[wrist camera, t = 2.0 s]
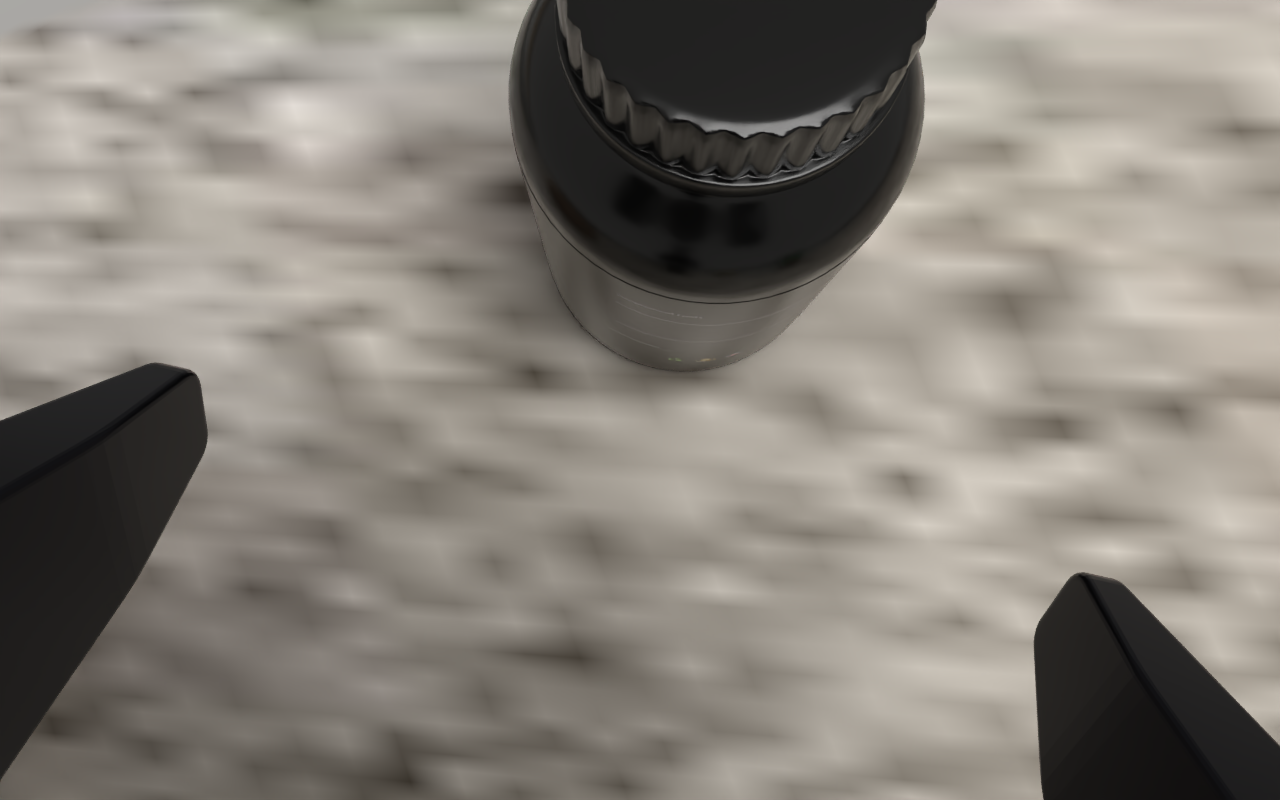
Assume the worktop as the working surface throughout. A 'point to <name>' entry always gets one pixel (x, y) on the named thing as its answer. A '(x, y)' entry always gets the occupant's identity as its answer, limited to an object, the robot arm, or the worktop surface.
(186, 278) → the worktop surface
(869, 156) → the supplement bottle
